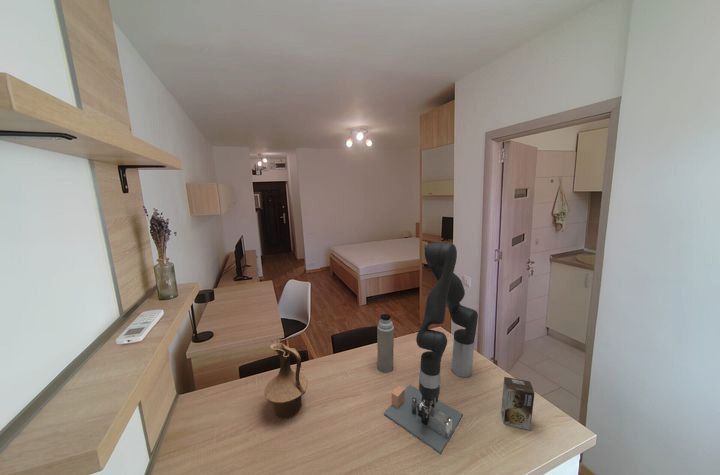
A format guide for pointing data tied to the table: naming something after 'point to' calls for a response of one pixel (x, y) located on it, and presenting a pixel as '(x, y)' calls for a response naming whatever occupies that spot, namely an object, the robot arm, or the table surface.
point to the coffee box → (517, 403)
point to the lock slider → (398, 396)
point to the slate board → (414, 426)
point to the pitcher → (286, 384)
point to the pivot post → (414, 405)
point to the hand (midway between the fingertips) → (427, 418)
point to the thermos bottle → (385, 344)
